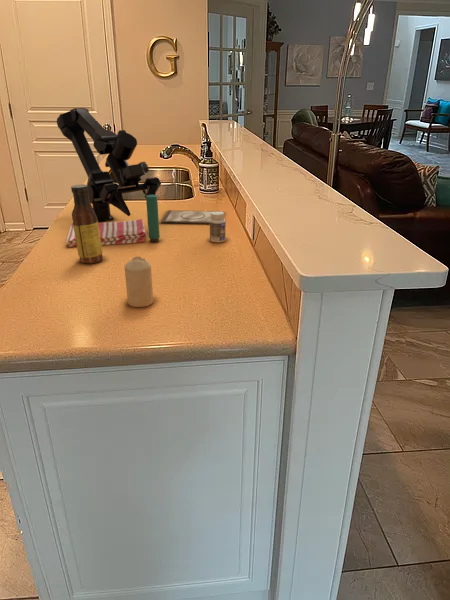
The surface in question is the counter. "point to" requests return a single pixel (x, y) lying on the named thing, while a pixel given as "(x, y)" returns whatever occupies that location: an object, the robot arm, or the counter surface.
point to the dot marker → (153, 217)
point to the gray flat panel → (187, 217)
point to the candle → (139, 282)
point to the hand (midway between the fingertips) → (143, 212)
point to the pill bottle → (217, 227)
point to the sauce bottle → (85, 226)
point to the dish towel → (115, 233)
